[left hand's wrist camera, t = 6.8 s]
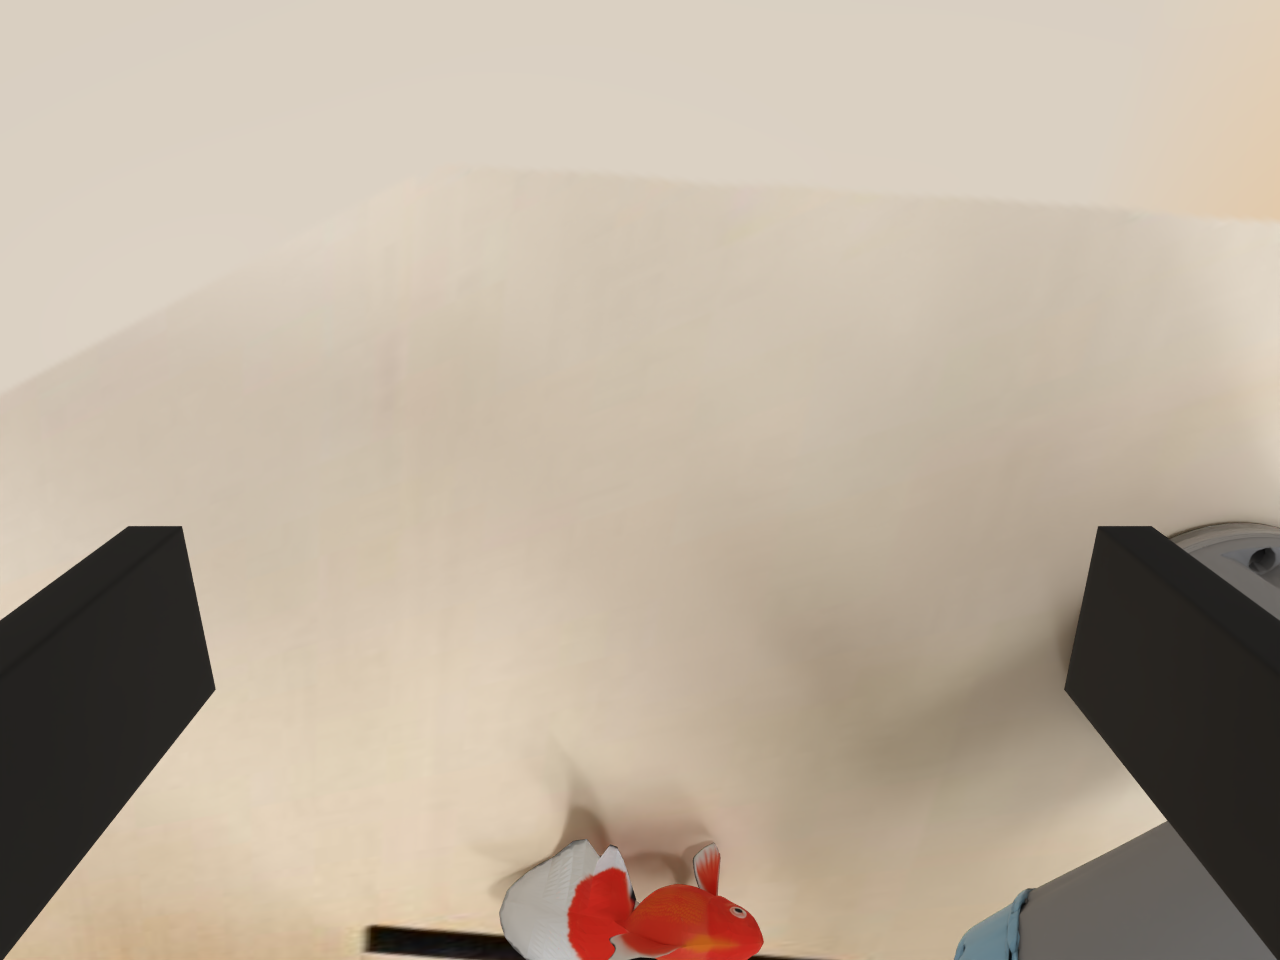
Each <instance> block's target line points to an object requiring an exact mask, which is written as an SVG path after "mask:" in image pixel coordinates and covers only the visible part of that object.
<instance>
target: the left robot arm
mask: <svg viewBox="0 0 1280 960" xmlns="http://www.w3.org/2000/svg"><path fill="white" fill-rule="evenodd" d="M215 690H216V689H215V684H214V679H213V674H212V669H211V665H210V660H209V655H208V650H207V645H206V640H205V636H204V631H203V626H202V621H201V616H200V611H199V607H198V602H197V597H196V592H195V587H194V582H193V578H192V573H191V568H190V563H189V558H188V553H187V549H186V544H185V539H184V534H183V529H182V526H128V527H127V528H125V529H124V530H123V531H121V532H120V533H119V534H117V535H116V536H115V537H113V538H112V539H110V540H109V541H108V542H106V543H105V544H104V545H102V546H101V547H100V548H98V549H97V550H95V551H94V552H93V553H91V554H90V555H89V556H87V557H86V558H85V559H83V560H82V561H81V562H79V563H78V564H76V565H75V566H74V567H72V568H71V569H70V570H68V571H67V572H66V573H64V574H63V575H61V576H60V577H59V578H57V579H56V580H55V581H53V582H52V583H51V584H49V585H48V586H47V587H45V588H44V589H42V590H41V591H40V592H38V593H37V594H36V595H34V596H33V597H32V598H30V599H29V600H27V601H26V602H25V603H23V604H22V605H21V606H19V607H18V608H17V609H15V610H14V611H13V612H11V613H10V614H8V615H7V616H6V617H4V618H3V619H2V620H0V960H3V959H4V958H5V956H6V955H7V954H8V953H9V951H10V950H11V949H12V948H13V946H14V945H15V944H16V942H17V941H18V940H19V939H20V937H21V936H22V935H23V934H24V932H25V931H26V930H27V929H28V927H29V926H30V925H31V923H32V922H33V921H34V920H35V918H36V917H37V916H38V915H39V913H40V912H41V911H42V909H43V908H44V907H45V906H46V904H47V903H48V902H49V901H50V899H51V898H52V897H53V895H54V894H55V893H56V892H57V890H58V889H59V888H60V887H61V885H62V884H63V883H64V881H65V880H66V879H67V878H68V876H69V875H70V874H71V873H72V871H73V870H74V869H75V868H76V866H77V865H78V864H79V862H80V861H81V860H82V859H83V857H84V856H85V855H86V854H87V852H88V851H89V850H90V848H91V847H92V846H93V845H94V843H95V842H96V841H97V840H98V838H99V837H100V836H101V834H102V833H103V832H104V831H105V829H106V828H107V827H108V826H109V824H110V823H111V822H112V820H113V819H114V818H115V817H116V815H117V814H118V813H119V812H120V810H121V809H122V808H123V807H124V805H125V804H126V803H127V801H128V800H129V799H130V798H131V796H132V795H133V794H134V793H135V791H136V790H137V789H138V787H139V786H140V785H141V784H142V782H143V781H144V780H145V779H146V777H147V776H148V775H149V773H150V772H151V771H152V770H153V768H154V767H155V766H156V765H157V763H158V762H159V761H160V759H161V758H162V757H163V756H164V754H165V753H166V752H167V751H168V749H169V748H170V747H171V746H172V744H173V743H174V742H175V740H176V739H177V738H178V737H179V735H180V734H181V733H182V732H183V730H184V729H185V728H186V726H187V725H188V724H189V723H190V721H191V720H192V719H193V718H194V716H195V715H196V714H197V712H198V711H199V710H200V709H201V707H202V706H203V705H204V704H205V702H206V701H207V700H208V698H209V697H210V696H211V695H212V693H213V692H214V691H215ZM1064 690H1065V691H1066V692H1067V693H1068V695H1069V696H1070V697H1071V698H1072V700H1073V701H1074V702H1075V704H1076V705H1077V706H1078V707H1079V709H1080V710H1081V711H1082V712H1083V714H1084V715H1085V716H1086V718H1087V719H1088V720H1089V721H1090V723H1091V724H1092V725H1093V726H1094V728H1095V729H1096V730H1097V732H1098V733H1099V734H1100V735H1101V737H1102V738H1103V739H1104V740H1105V742H1106V743H1107V744H1108V746H1109V747H1110V748H1111V749H1112V751H1113V752H1114V753H1115V754H1116V756H1117V757H1118V758H1119V759H1120V761H1121V762H1122V763H1123V765H1124V766H1125V767H1126V768H1127V770H1128V771H1129V772H1130V773H1131V775H1132V776H1133V777H1134V779H1135V780H1136V781H1137V782H1138V784H1139V785H1140V786H1141V787H1142V789H1143V790H1144V791H1145V793H1146V794H1147V795H1148V796H1149V798H1150V799H1151V800H1152V801H1153V803H1154V804H1155V805H1156V807H1157V808H1158V809H1159V810H1160V812H1161V813H1162V814H1163V815H1164V817H1165V818H1166V819H1167V820H1168V821H1166V822H1164V823H1163V824H1161V825H1159V826H1157V827H1155V828H1153V829H1151V830H1149V831H1147V832H1146V833H1144V834H1142V835H1140V836H1138V837H1136V838H1134V839H1132V840H1130V841H1129V842H1127V843H1125V844H1123V845H1121V846H1119V847H1117V848H1115V849H1113V850H1111V851H1109V852H1107V853H1105V854H1103V855H1101V856H1100V857H1098V858H1096V859H1094V860H1092V861H1090V862H1088V863H1086V864H1084V865H1082V866H1080V867H1078V868H1076V869H1074V870H1072V871H1070V872H1068V873H1066V874H1064V875H1062V876H1060V877H1058V878H1056V879H1054V880H1052V881H1050V882H1048V883H1046V884H1044V885H1042V886H1040V887H1038V888H1033V889H1026V890H1024V891H1022V892H1021V893H1020V894H1019V895H1018V896H1017V897H1016V898H1015V900H1014V902H1013V903H1011V904H1010V905H1008V906H1007V907H1005V908H1003V909H1002V910H1000V911H998V912H997V913H995V914H993V915H992V916H990V917H988V918H987V919H985V920H983V921H982V922H980V923H978V924H976V925H975V926H973V927H972V928H971V929H969V930H968V932H966V933H965V935H964V936H963V937H962V939H961V940H960V942H959V944H958V947H957V950H956V955H955V958H954V960H1280V528H1277V527H1273V526H1268V525H1263V524H1253V523H1230V524H1220V525H1214V526H1208V527H1204V528H1200V529H1196V530H1192V531H1189V532H1186V533H1183V534H1180V535H1178V536H1175V537H1173V538H1171V539H1168V538H1167V537H1165V536H1164V535H1163V534H1161V533H1160V532H1159V531H1157V530H1156V529H1155V528H1153V527H1152V526H1098V529H1097V534H1096V539H1095V544H1094V549H1093V553H1092V558H1091V563H1090V568H1089V573H1088V578H1087V582H1086V587H1085V592H1084V597H1083V602H1082V607H1081V611H1080V616H1079V621H1078V626H1077V631H1076V636H1075V640H1074V645H1073V650H1072V655H1071V660H1070V665H1069V669H1068V674H1067V679H1066V684H1065V689H1064Z"/></svg>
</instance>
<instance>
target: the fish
mask: <svg viewBox="0 0 1280 960" xmlns="http://www.w3.org/2000/svg"><path fill="white" fill-rule="evenodd" d="M693 866H694V873H695V877H696V881H697V884H698V887H699V888H697V887H694V886H689V885H683V884H674V885H669V886H665V887H663V888H660V889H658V890H656V891H654V892H653V893H652V894H650V895H649V896H648V897H646V898H645V899H644V900H643V901H642V902H641V903H638V902H637V901H636V898H635V894H634V891H633V888H632V885H631V881H630V878H629V875H628V872H627V869H626V866H625V863H624V861H623V858H622V856H621V854H620V852H619V850H618V848H617V847H616V846H613V845H610V846H609V847H608V848H607V849H606V851H605V852H604V853H603V854H602V856H601V857H599V855H598V854H597V852H596V851H595V850H594V848H593V847H592V845H591V844H590V843H589V841H588V840H587V839H584V840H577V841H573V842H571V843H570V844H569V845H568V846H566V847H565V848H564V849H563V850H561V851H560V852H559V853H558V854H556V855H555V856H554V857H553V858H551V859H549V860H547V861H545V862H543V863H541V864H539V865H537V866H536V867H534V868H533V869H531V870H530V871H528V872H527V873H526V874H524V875H523V876H522V877H521V878H520V879H518V880H517V881H516V882H515V883H514V884H513V885H512V886H511V887H510V888H509V889H508V890H507V892H506V895H505V898H504V901H503V903H502V906H501V909H500V912H499V915H500V922H501V926H502V929H503V932H504V935H505V937H506V939H507V940H508V941H509V943H510V944H511V945H512V946H513V948H514V949H515V950H516V951H517V952H519V953H520V954H521V955H522V956H523V957H524V958H525V959H526V960H629V959H633V958H638V957H648V958H656V959H658V960H747V959H749V958H750V957H751V956H753V955H754V954H756V953H758V952H759V950H760V948H761V947H762V945H763V943H764V941H763V936H762V933H761V931H760V928H759V926H758V924H757V922H756V920H755V919H754V917H753V916H752V915H751V914H750V913H749V912H748V911H746V910H745V909H744V908H742V907H740V906H738V905H736V904H734V903H732V902H731V901H729V900H727V899H726V898H724V897H722V896H718V879H719V869H720V853H719V852H718V848H717V847H716V845H715V844H714V843H712V844H710V845H708V846H706V847H704V848H703V849H702V850H701V851H699V852H698V853H697V854H696V855H695V857H694V858H693Z"/></svg>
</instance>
